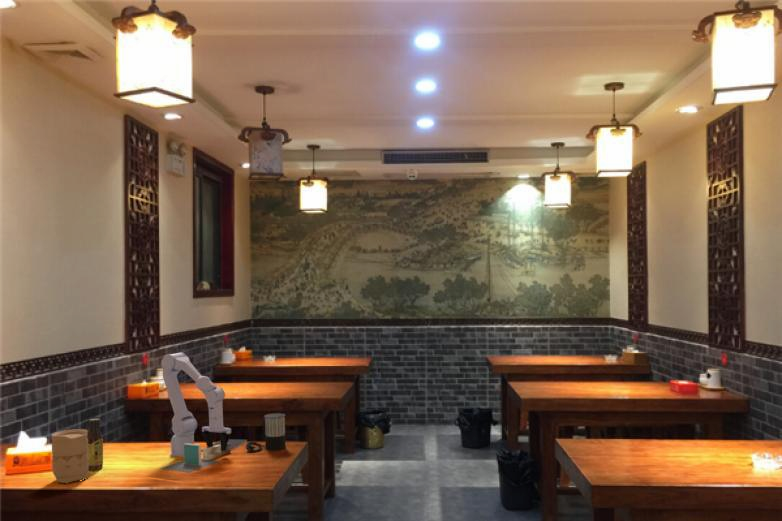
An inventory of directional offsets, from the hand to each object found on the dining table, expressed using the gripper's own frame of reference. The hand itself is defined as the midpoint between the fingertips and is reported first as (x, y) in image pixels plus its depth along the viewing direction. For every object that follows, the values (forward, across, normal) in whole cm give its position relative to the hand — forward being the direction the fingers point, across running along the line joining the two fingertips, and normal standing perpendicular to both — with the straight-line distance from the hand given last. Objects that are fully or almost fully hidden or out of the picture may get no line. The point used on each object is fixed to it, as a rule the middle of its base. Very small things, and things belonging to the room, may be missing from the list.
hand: (217, 449), depth 293 cm
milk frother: (+4, +12, +18) cm, 22 cm away
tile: (+3, 0, -14) cm, 14 cm away
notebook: (+4, -10, +16) cm, 19 cm away
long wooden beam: (+3, 0, 0) cm, 3 cm away
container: (+3, -31, -47) cm, 56 cm away
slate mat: (+3, 0, -15) cm, 15 cm away
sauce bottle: (+3, -36, -32) cm, 48 cm away
